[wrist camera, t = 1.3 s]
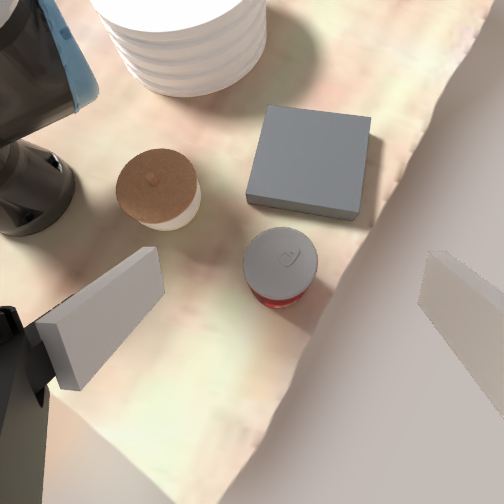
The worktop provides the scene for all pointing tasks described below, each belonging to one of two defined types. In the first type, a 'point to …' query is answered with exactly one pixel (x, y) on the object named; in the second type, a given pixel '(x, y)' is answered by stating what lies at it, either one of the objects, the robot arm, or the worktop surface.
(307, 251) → the canned food
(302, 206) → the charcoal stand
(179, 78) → the plate stack
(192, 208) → the lidded jar
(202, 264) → the worktop surface
